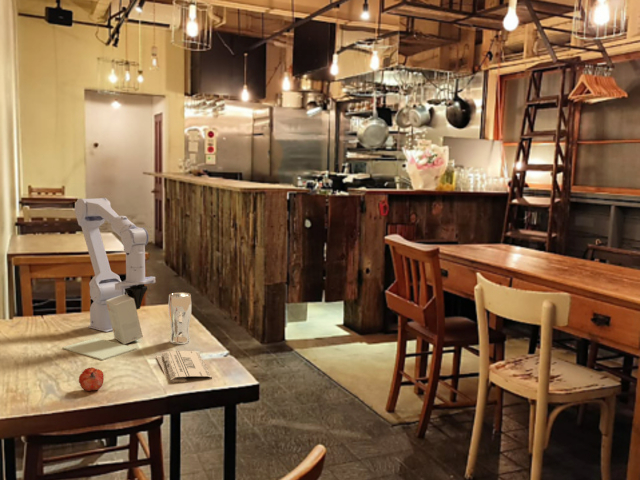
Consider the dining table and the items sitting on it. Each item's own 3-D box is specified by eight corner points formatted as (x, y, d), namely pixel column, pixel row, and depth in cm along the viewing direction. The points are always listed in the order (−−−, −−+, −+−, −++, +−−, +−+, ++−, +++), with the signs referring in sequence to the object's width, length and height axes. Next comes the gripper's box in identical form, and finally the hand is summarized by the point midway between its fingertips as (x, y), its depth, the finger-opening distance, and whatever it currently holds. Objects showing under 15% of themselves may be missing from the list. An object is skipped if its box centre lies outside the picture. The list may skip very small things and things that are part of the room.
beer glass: (195, 339, 183) (195, 293, 181) (183, 346, 176) (183, 298, 174) (176, 337, 185) (176, 291, 183) (164, 343, 178) (163, 295, 176)
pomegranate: (78, 394, 142) (75, 385, 136) (81, 372, 145) (79, 362, 139) (102, 395, 143) (101, 386, 137) (105, 373, 146) (104, 363, 140)
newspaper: (155, 359, 166) (156, 350, 166) (198, 359, 170) (199, 350, 170) (163, 387, 145) (164, 377, 145) (212, 386, 149) (213, 377, 149)
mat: (62, 348, 171) (62, 347, 171) (96, 338, 181) (96, 337, 181) (102, 360, 162) (102, 359, 162) (136, 349, 172) (136, 348, 172)
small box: (143, 337, 179) (134, 298, 176) (123, 345, 176) (114, 305, 172) (133, 331, 186) (124, 293, 182) (114, 338, 182) (104, 300, 179)
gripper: (125, 271, 172) (126, 315, 174) (162, 264, 185) (162, 306, 186) (109, 268, 176) (110, 311, 177) (146, 262, 188) (147, 302, 190)
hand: (136, 308), depth 182 cm, fingers closed
